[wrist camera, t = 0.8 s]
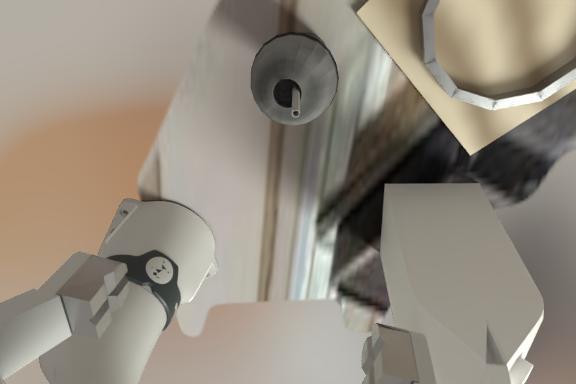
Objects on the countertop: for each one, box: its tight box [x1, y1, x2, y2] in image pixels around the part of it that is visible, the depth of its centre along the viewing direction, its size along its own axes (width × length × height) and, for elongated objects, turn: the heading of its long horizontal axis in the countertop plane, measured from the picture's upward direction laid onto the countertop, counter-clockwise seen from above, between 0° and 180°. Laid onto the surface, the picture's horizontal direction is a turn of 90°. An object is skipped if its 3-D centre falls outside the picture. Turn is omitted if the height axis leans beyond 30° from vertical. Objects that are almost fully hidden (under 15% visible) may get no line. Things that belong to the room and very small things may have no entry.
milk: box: [380, 183, 544, 384], centre depth 36 cm, size 12×12×26 cm
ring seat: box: [356, 0, 576, 155], centre depth 32 cm, size 21×21×3 cm
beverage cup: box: [251, 32, 339, 125], centre depth 29 cm, size 7×7×20 cm
